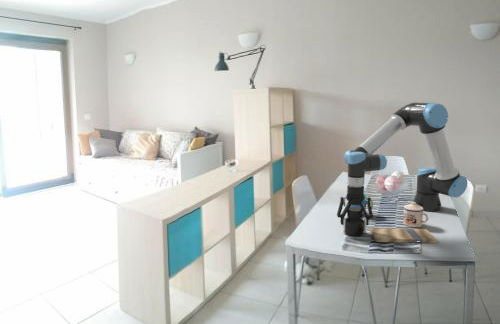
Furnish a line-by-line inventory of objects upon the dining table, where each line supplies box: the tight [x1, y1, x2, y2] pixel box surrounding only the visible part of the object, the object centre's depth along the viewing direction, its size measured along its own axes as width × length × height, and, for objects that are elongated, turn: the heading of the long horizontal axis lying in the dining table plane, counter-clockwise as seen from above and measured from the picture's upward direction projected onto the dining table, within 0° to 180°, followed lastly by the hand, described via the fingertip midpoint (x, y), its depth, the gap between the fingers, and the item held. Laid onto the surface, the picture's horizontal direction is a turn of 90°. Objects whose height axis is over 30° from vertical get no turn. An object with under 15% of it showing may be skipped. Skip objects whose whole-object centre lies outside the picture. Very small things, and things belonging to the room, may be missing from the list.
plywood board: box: [369, 227, 438, 244], centre depth 171 cm, size 26×13×2 cm, turn 84°
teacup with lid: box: [402, 201, 429, 228], centre depth 184 cm, size 12×9×12 cm
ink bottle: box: [344, 207, 364, 237], centre depth 175 cm, size 10×9×12 cm
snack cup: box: [343, 194, 374, 216], centre depth 203 cm, size 16×10×10 cm
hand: (354, 231), depth 176 cm, fingers closed on ink bottle, 9 cm apart
